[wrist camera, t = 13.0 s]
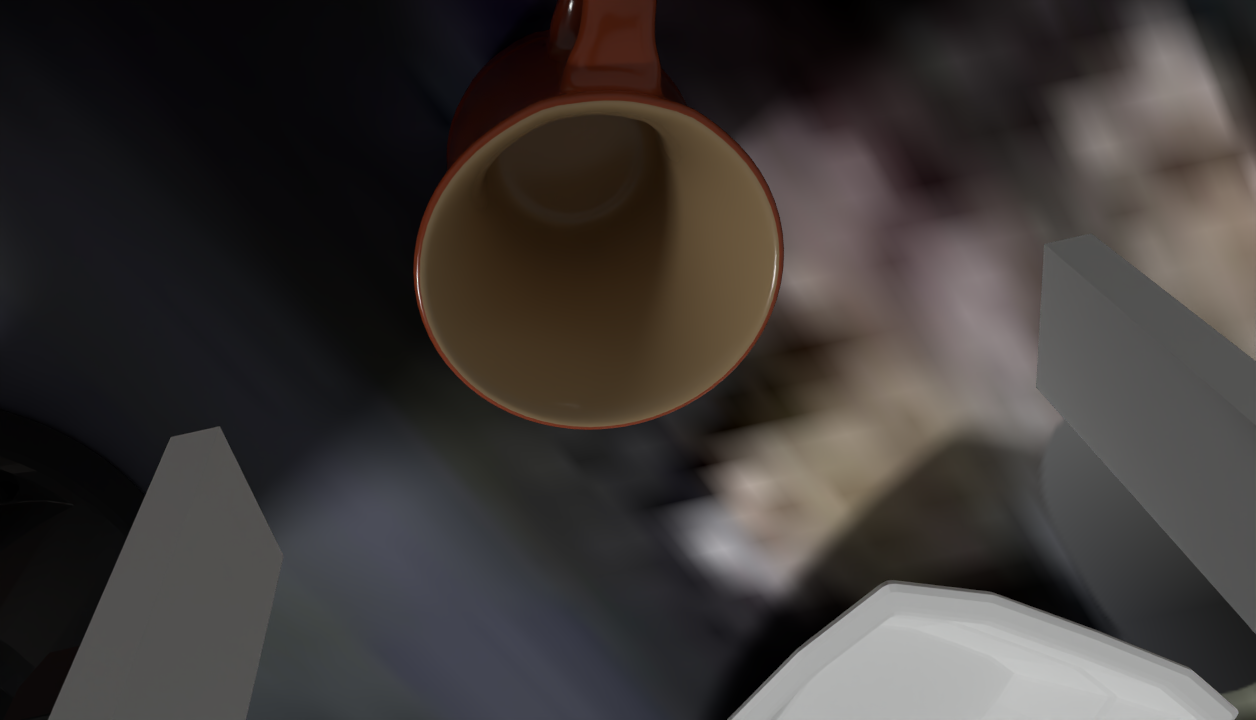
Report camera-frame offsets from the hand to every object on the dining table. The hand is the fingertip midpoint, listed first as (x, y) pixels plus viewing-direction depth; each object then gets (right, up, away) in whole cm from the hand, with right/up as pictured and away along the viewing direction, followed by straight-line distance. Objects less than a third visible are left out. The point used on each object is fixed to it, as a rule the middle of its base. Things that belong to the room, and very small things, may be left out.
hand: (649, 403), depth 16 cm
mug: (-2, +9, +15) cm, 18 cm away
